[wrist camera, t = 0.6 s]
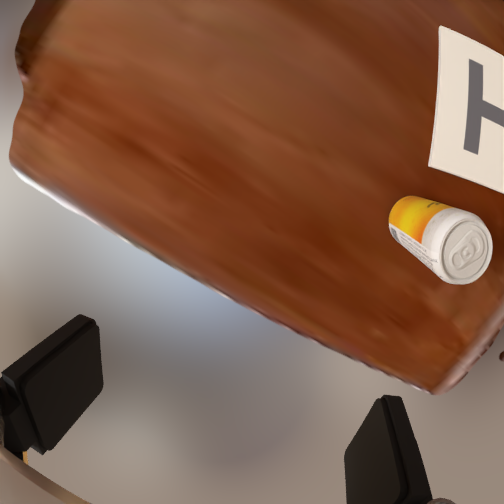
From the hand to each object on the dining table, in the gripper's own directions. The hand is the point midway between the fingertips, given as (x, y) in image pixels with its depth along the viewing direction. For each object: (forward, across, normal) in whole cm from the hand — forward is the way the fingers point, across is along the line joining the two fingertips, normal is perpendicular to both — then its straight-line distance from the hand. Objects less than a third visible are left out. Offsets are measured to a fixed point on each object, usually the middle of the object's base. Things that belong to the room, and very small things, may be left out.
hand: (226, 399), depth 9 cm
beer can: (+30, -15, -5) cm, 33 cm away
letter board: (+29, -25, -22) cm, 45 cm away
